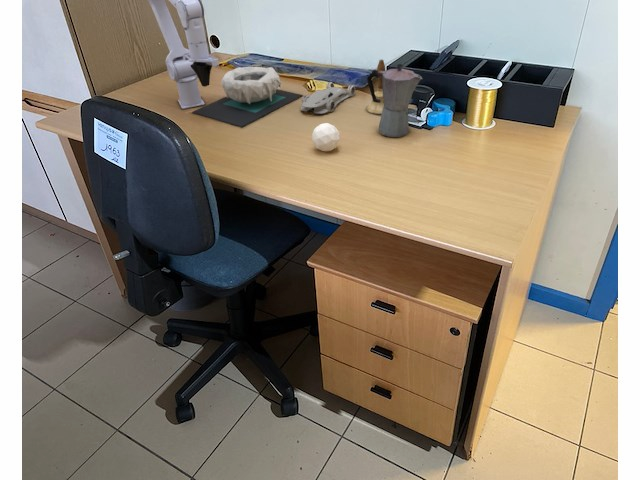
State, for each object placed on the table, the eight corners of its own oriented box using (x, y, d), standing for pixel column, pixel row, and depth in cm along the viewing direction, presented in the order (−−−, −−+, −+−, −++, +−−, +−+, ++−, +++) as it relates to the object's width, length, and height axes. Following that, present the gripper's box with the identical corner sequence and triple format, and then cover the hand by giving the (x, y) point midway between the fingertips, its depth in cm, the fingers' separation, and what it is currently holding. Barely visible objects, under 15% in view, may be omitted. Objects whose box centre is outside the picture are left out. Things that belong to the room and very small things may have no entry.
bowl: (214, 110, 164) (208, 81, 158) (236, 89, 180) (232, 62, 174) (271, 113, 160) (268, 83, 154) (289, 90, 175) (286, 63, 169)
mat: (242, 127, 153) (241, 126, 152) (192, 113, 165) (192, 111, 165) (302, 96, 172) (302, 95, 171) (254, 85, 184) (253, 84, 184)
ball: (333, 156, 139) (349, 135, 135) (319, 158, 133) (336, 136, 129) (316, 138, 141) (331, 117, 137) (301, 139, 134) (317, 117, 130)
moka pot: (417, 139, 139) (422, 70, 127) (364, 137, 142) (364, 69, 130) (418, 125, 146) (423, 58, 134) (368, 124, 149) (368, 58, 137)
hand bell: (392, 104, 161) (393, 55, 151) (392, 114, 154) (394, 63, 145) (367, 104, 162) (367, 56, 152) (366, 114, 155) (366, 64, 146)
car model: (357, 93, 170) (357, 79, 167) (321, 119, 154) (320, 104, 151) (330, 89, 175) (330, 75, 172) (293, 113, 159) (292, 98, 156)
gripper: (171, 42, 148) (181, 85, 157) (203, 48, 141) (211, 93, 149) (189, 36, 153) (198, 79, 161) (220, 41, 145) (228, 86, 154)
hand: (205, 85), depth 155 cm, fingers closed
